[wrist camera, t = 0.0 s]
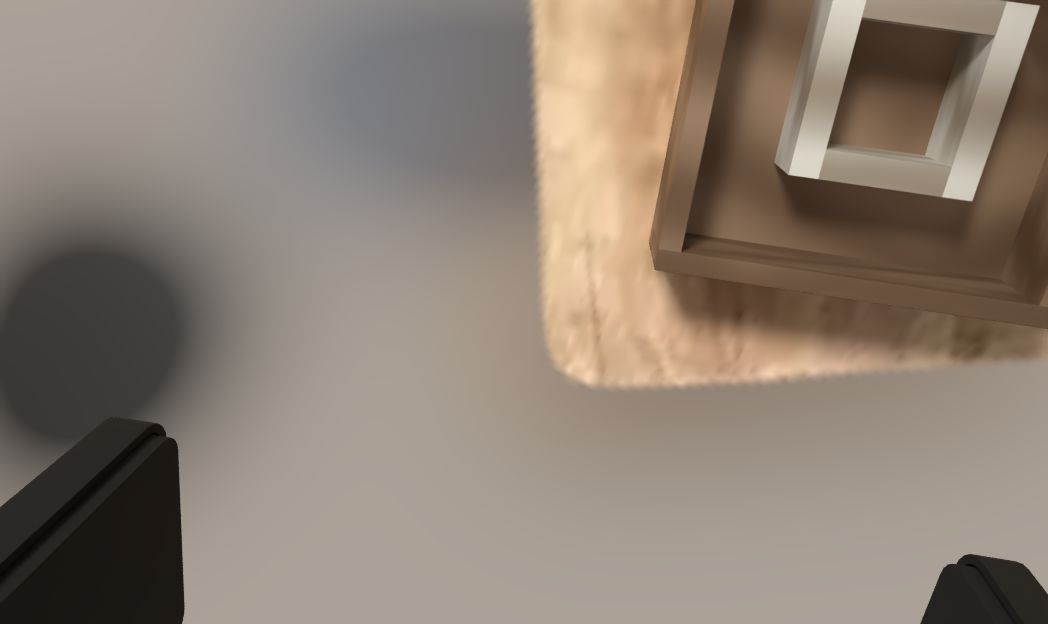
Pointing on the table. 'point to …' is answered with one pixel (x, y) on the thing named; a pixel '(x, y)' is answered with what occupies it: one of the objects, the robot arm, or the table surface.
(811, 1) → the crate
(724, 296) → the table surface
